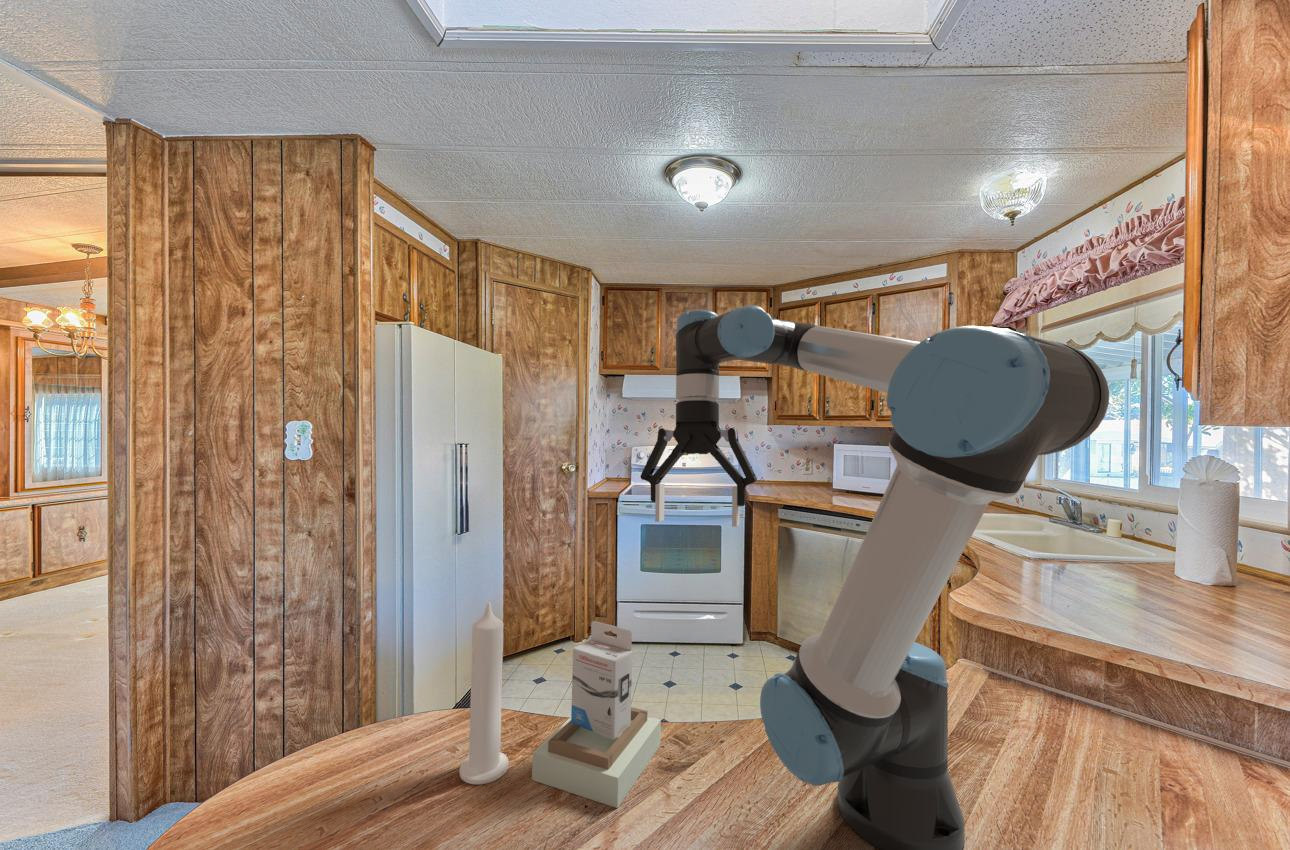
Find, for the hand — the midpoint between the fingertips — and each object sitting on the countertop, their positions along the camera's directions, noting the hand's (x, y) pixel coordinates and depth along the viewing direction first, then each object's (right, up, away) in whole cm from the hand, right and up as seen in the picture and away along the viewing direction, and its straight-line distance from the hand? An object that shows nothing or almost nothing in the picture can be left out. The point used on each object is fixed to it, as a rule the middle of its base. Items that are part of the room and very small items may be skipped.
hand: (696, 523), depth 87 cm
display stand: (-16, -35, -9) cm, 40 cm away
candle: (-33, -35, -11) cm, 50 cm away
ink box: (-16, -30, -8) cm, 35 cm away
